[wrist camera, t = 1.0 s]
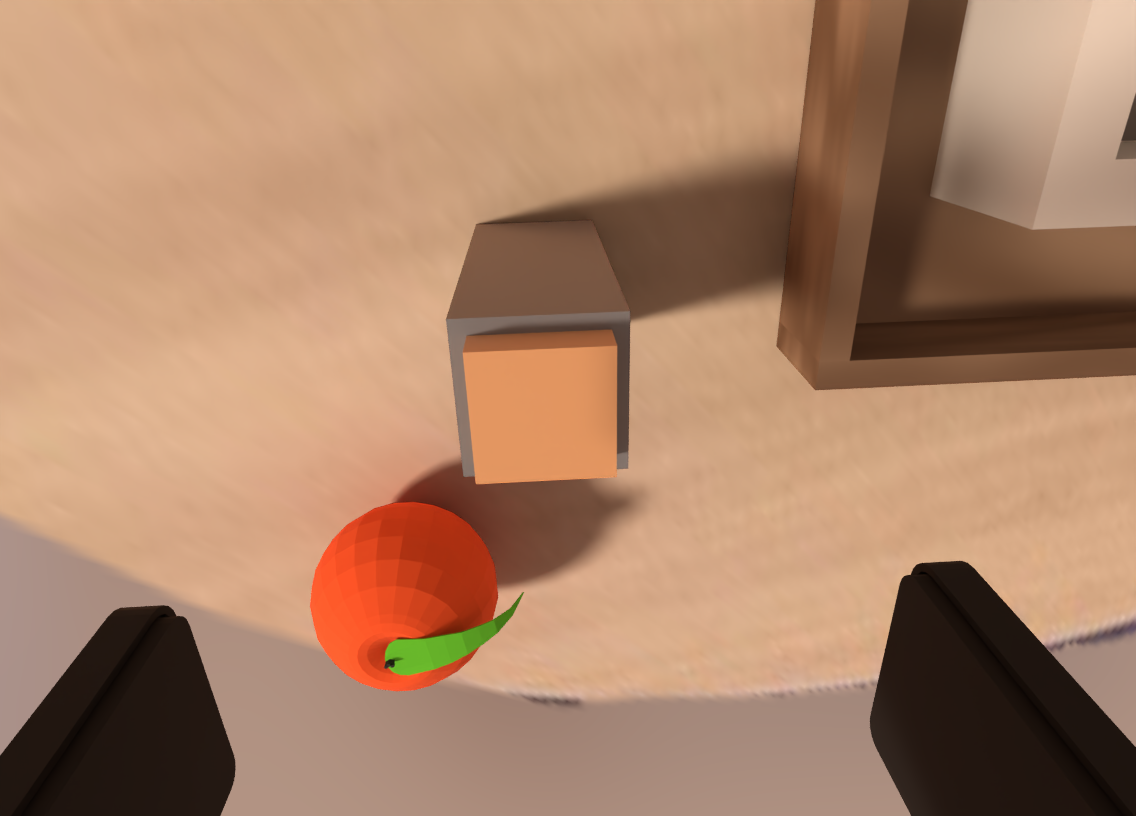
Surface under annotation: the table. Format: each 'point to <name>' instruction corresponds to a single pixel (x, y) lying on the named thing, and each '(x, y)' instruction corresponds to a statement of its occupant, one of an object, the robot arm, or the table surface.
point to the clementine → (405, 596)
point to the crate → (927, 232)
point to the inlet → (1043, 114)
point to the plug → (540, 355)
